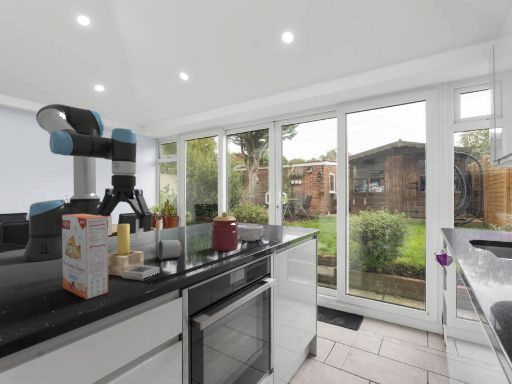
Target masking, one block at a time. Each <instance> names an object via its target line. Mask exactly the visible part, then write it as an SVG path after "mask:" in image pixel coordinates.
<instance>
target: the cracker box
mask: <svg viewBox="0 0 512 384" xmlns="http://www.w3.org/2000/svg"><path fill="white" fill-rule="evenodd" d="M62 254H63V257H62V288H63V289H64V290H66V291H68V292H70V293H72V294H74V295H76V296H78V297H81V298H83V299H84V300H91V299H93V298H96V297H99V296H103V295H105V294H108V293H109V274H108V254H109V235H108V217H106V216H97V215H89V214H68V215H62Z"/></svg>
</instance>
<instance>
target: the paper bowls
mask: <svg viewBox="0 0 512 384" xmlns="http://www.w3.org/2000/svg"><path fill="white" fill-rule="evenodd" d="M237 230H238V237H239V238H240V240H242V241H243V240H244V241H245V242H257V241H259V240H260V237H261V236H263V235H264V226H263V225H257V224H238V225H237ZM256 240H257V241H256Z"/></svg>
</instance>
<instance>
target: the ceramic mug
mask: <svg viewBox="0 0 512 384" xmlns="http://www.w3.org/2000/svg"><path fill="white" fill-rule="evenodd" d="M182 247H183V245H182V243H181V240H178V239H160V240H159V241H158V245H157V256H158V259H159V260H167V259H169V260H170V259H175V258H176V259H177V258H179V257H180V256H182V250H183V248H182Z"/></svg>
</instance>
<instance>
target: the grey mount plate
mask: <svg viewBox="0 0 512 384" xmlns="http://www.w3.org/2000/svg"><path fill="white" fill-rule="evenodd" d="M157 273H158V274H160V266H156V265H155V266H154V265H146V264H144V265H138V266H135V267H133V268H130V269H127V270H125V271H122V276H121V278H123V279H130V280H137V281H144V280H143V279H144V278H146V277H149V276H151V277H153V276H152V275H154V276H155V274H156V275H157ZM149 278H150V277H149Z"/></svg>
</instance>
